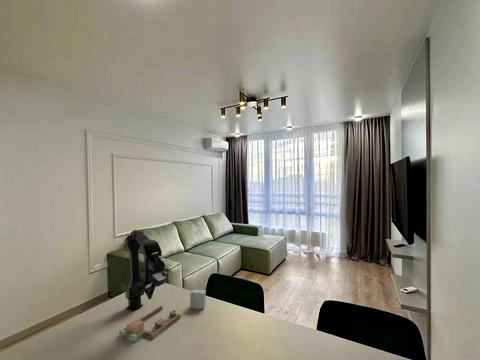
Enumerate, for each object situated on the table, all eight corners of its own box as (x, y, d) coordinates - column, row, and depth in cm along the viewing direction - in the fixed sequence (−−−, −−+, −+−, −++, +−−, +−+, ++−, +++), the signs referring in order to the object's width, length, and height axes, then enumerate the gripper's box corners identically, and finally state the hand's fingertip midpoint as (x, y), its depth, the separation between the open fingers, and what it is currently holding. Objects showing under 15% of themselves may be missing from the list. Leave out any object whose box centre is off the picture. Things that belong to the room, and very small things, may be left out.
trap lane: (119, 335, 103) (119, 330, 103) (160, 309, 125) (160, 304, 125) (143, 346, 96) (143, 340, 96) (182, 316, 118) (183, 311, 118)
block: (126, 335, 103) (126, 324, 103) (135, 329, 107) (136, 318, 108) (134, 339, 101) (134, 327, 101) (143, 332, 105) (143, 321, 105)
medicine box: (205, 305, 129) (206, 290, 130) (203, 309, 125) (204, 293, 125) (192, 304, 130) (192, 289, 131) (190, 308, 126) (190, 293, 126)
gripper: (146, 276, 101) (146, 312, 100) (175, 264, 118) (175, 294, 117) (129, 272, 106) (129, 306, 105) (159, 261, 123) (159, 290, 122)
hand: (149, 299), depth 112 cm, fingers closed
